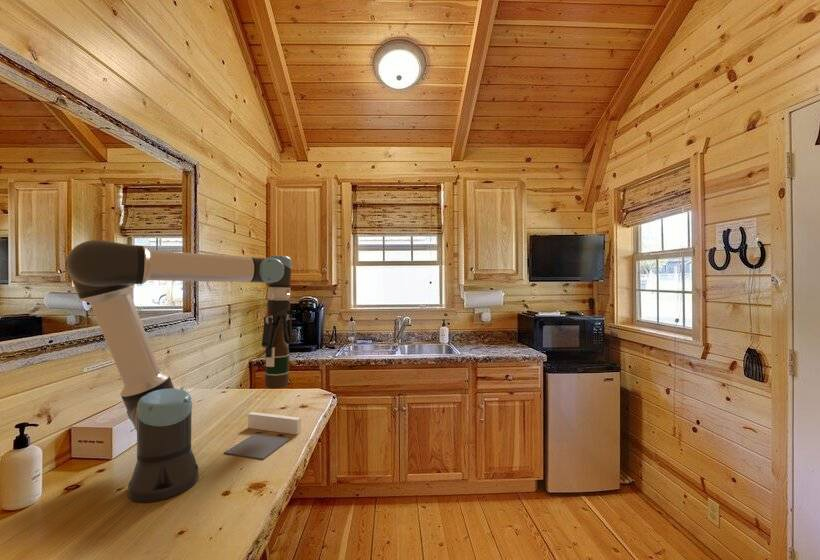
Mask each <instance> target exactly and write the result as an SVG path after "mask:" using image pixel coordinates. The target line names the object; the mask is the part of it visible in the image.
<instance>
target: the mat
mask: <svg viewBox="0 0 820 560" xmlns="http://www.w3.org/2000/svg"><path fill="white" fill-rule="evenodd" d="M291 439H292V438H291V437H284V436H278V435H277V436H276V435H269V434H262V433H255V432H254V433H253V434H251V435H250V436H248V437H246V438H244V439H243V440H242V441H240V442H238V443H236V444H235V445H233V446H231V448H229V449H227V450H225V451H224V452H223V454H225V455H230V456H231V455H232V456H236V457H237V456H238V457H243V458H251V459H257V460H262V461H263V460H266V458H268V457H269V456H271V455H272V454H274V452H276V451H277V450H279V449H280V448H281V447H283V446H284V445H286V444H287V443H288V442H290V441H291Z"/></svg>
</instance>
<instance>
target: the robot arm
mask: <svg viewBox="0 0 820 560" xmlns="http://www.w3.org/2000/svg"><path fill="white" fill-rule="evenodd" d="M64 264H65V270H66V273H67V274H68V276H69V278H70V279H71V281H72V284H73V287H74V289H75V291H76V293H77V295H78V298H79V299H80V301H83V302H85V303H89V305H90V306H91V309H92V312H93V313H94V317H95V319H96V321H97V324H98V326H99V328H100V330H101V333H102V335H103V337H104V339H105V342H106V344H107V347H108V349H109V353H110V354H111V357H112V359H113V361H114V363H115V366H116V369H117V371H118V373H119V376H120V379H121V380H122V383H123V385H124V386H123V388H122V390H121V391H120V393H119V394H120V397H121V399H122V401H123V404H124V406H125V409H126V413H127V417H128V419H129V420H130V421H131V423H132V424H133V427H134V428H135V431H136V464H135V465H134V466H135V467H134V469H133V472H132V475H131V479H130V480H129V482H128V485H127V486H128V487H127V497H128V499H130V500H131V501H133V502H136V503H137V502H138V503H151V502H152V503H153V502H158V501H163V500H166V499H169V498H173V497H175V496H177V495H180V494H182V493H184V492H185V491H188V490H190V488H192V487H193V486H195V485H196V483H197V482H198V481H199V478H200V472H199V470H200V469H199V468H200V467H199V466H198V464H197V460H196V457H195V455H194V453H193V450H192V415H193V414H192V412H193V411H192V409H193V402H192V395H191V394H190V393H189V391H187V390H185V389H182V388H180V389H178V388H175V387H174V384H173V381H172V379H171V377H170V375H169V374H168V373H167V372H166V373H165V372H163V371H161V368H160V365H159V364H158V362H157V361H158V360H157V357H156V356H155V353H154V351H153V348H152V345H151V343H150V341H149V337H148V336H147V333H146V331H145V328H144V325H143V323H142V320H141V318H140V314H139V312H138V310H137V307H136V304H135V302H134V299H133V298H132V291H133V289H134V287H135V285H144V284H145V283H147V282H148V281H165V282H166V281H168V282H169V281H170V282H173V281H175V282H177V281H178V282H182V281H183V282H220V283H221V282H226V283H227V282H228V283H229V282H230V283H233V282H234V283H263V284H264V283H266V284H267V285H268V286H267V287H268V288H267V299H268V300H267V311H268V312H269V311H270V312H269V316H267V317H266V316H264V317H263V329H262V330H263V331H262V340H261V347H262V348H265V366H267V367H274V356H275V348H274V347H273V345H274V341H275V337H276V334H277V330H278V329H279V327H280V323H281V321H282V318H284V321H283V326H284V340H285V342H286V343H287V345H288V346H289V344H292V341H293V326H292V324H293V323H292V319H293V314H288V311H290V310H291V300H290V298H291V292H292V291H291V285H292V281H291V280H292V269H293V268H292V259H291V257H289V256H287V255H270V256H269V257H266V258H265V257H251V256H238V255H237V256H236V255H224V254H223V255H221V254H208V253H194V252H178V251H177V252H176V251H165V250H164V251H163V250H149V249H148V248H147V247H146V246H145V245H137V244H129V243H128V244H127V243H121V242H115V241H111V240H103V239H92V240H86V241H83V242H81V243H79V244H77V245H76V246H75V247H73V248H72V249H71V251H69V253H68V255H67V256H66V258H65V263H64Z"/></svg>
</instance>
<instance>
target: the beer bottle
mask: <svg viewBox="0 0 820 560" xmlns="http://www.w3.org/2000/svg"><path fill="white" fill-rule="evenodd" d="M283 321H284V318H282V321H281V323H280V327H279V329H278V330H277V334H276V337H275V341H274V345H273V347H274V348H275V356H274V367H267V366H266V365H264V366H265V367H264V368H265V373H264V385H265V387H266V388H268V389H280V388H286V386H288V385H289V376H290V375H289V374H290V373H289V372H290V371H289V370H290V349H289V344H288V345H287V343H286V342H285V340H284V326H283Z"/></svg>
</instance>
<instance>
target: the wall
mask: <svg viewBox="0 0 820 560" xmlns="http://www.w3.org/2000/svg"><path fill="white" fill-rule="evenodd" d="M301 419H302V418H301V417H297V416H290V415H289V416H288V415H279V414H272V413H264V412H263V413H262V412H256V411H254V412H253V411H251V412H249V413H248V415H247V429H253V430H263V431H267V432H268V431H270V432H275V433H276V432H277V433H284V434H292V435H299V434H300V433H302V432H301V431H302V429H301V428H302V425H301V424H302V422H301V421H302V420H301Z"/></svg>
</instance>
